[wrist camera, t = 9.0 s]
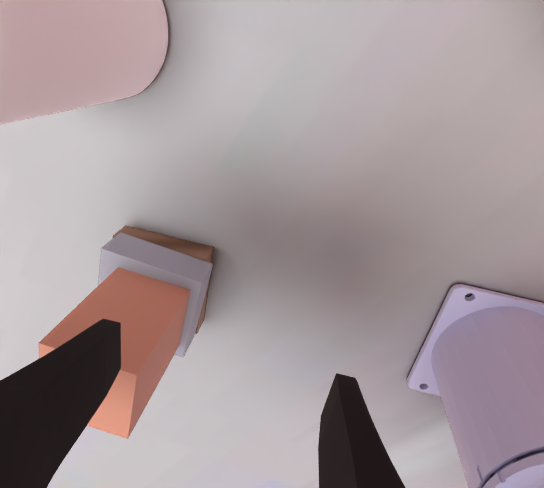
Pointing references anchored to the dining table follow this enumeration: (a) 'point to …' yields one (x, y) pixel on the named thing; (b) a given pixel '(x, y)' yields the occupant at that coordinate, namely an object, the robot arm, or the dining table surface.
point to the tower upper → (160, 274)
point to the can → (76, 53)
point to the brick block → (129, 340)
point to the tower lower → (177, 245)
